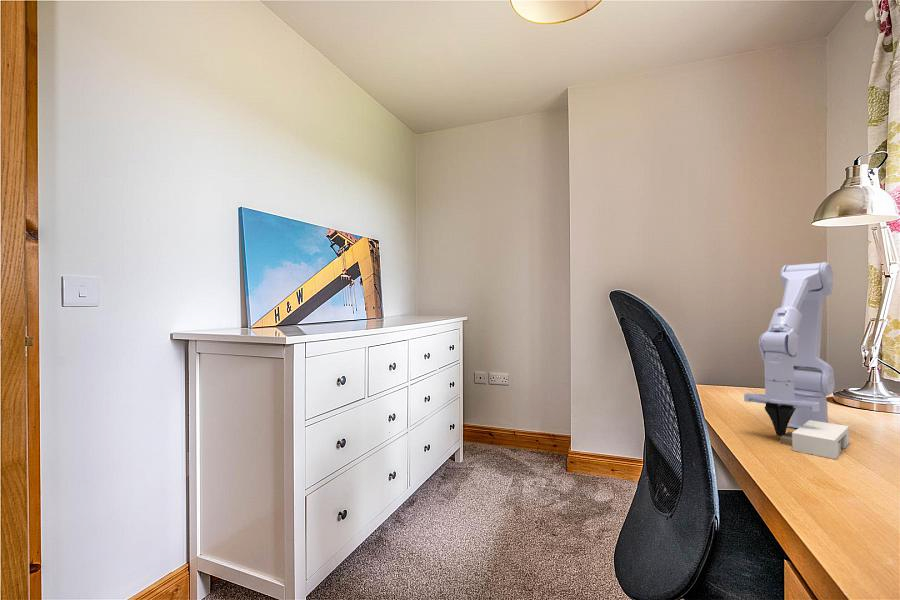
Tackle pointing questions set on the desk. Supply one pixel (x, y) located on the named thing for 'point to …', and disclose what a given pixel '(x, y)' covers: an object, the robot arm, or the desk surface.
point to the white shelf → (820, 439)
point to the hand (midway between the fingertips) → (780, 435)
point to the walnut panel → (786, 439)
